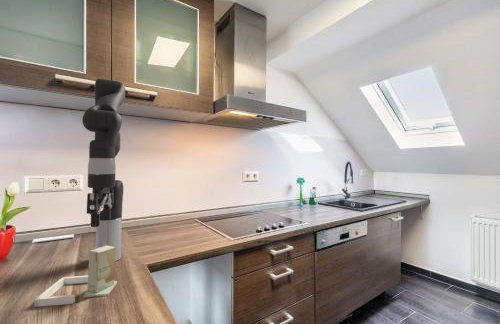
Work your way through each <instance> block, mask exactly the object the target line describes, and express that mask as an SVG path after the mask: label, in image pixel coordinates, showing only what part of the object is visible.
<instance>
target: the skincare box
mask: <svg viewBox="0 0 500 324" xmlns="http://www.w3.org/2000/svg"><path fill="white" fill-rule="evenodd" d="M115 252H116V247H113V246H108V245H107V246H104V247H100V248H97V249H96V248H95V249H91V250H89V253H88V254H89V255H88V283H87V291H88V290H89V291H92V292H96V293H97V292H99V291H101V290H104V289H106V288H108V287H110V286H112V285H114V281H115V279H116V278H115V277H116V273H115V272H116V261H115Z"/></svg>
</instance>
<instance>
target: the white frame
mask: <svg viewBox="0 0 500 324" xmlns="http://www.w3.org/2000/svg"><path fill="white" fill-rule="evenodd" d="M73 284H74V285H75V284H88V275H76V276H63V277H61V278H59V280H57V281H56V282H55V283H53V284H52V285H51V286H50V287H49V288H47V289H46V290H44V291H43V292H42V293H41V294H40V295H38V296H37V297H36V298H34V300H33V308H37V307H38V308H39V307H47V306H49V307H50V306H59V305H71V304H72V305H73V304H74V303H75V302H76V294H66V295H55V296H54V294H55V293H56V292H57V291H59V290H60V289H61V288H62V287H63V286H64V285H73Z"/></svg>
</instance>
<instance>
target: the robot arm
mask: <svg viewBox="0 0 500 324" xmlns="http://www.w3.org/2000/svg"><path fill="white" fill-rule="evenodd" d="M125 100H126V87H125V84H124V83H123V82H121V81H117V80H111V79H105V78H97V79H96V80H95V82H94V105H92V106H90V107H89V108H88V109H86V110H85V111H84V113H83V115H82V125H83V127H84V128H85V129H86V131H89V132H94V139H93V140H90V142H89V147H88V164H87V188H89V189H92V192H91V193H90V192H88V193H87V196H86V197H87V199H86V214H88V215H90V227H91V228H96V230H95V249H97V248H100V247H104V246H107V245H108V246H113V247H116V252H115V262H117V261H119V260H120V259H122V236H123V235H122V232H123V231H122V229H123V228H122V226H123V225H122V224H123V223H122V222H123V202H124V201H123V200H124V183H123V181H122V180H119V179H116V170H117V169H116V165H117V164H116V157H117V155H118V153H119V152H120V150H121V133H120V130H121V128H122V124H123V119H122V117H121V114H119V113H118V112H119V109H120V107H121V106H122V105H123V103H124V102H125Z"/></svg>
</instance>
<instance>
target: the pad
mask: <svg viewBox="0 0 500 324" xmlns="http://www.w3.org/2000/svg"><path fill="white" fill-rule="evenodd" d="M117 284H118V281H117V280H114V285H112V286H110V287H108V288H106V289H104V290H101V291H99V292H97V293H96V292H92V291H89V290H88V289H87V291H86V292H85V293H84V295H83V298H93V297H104V296H106V297H107V296H109V295H110V293H111V292H112V290H113V289H114V288H115V286H116V285H117Z"/></svg>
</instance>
